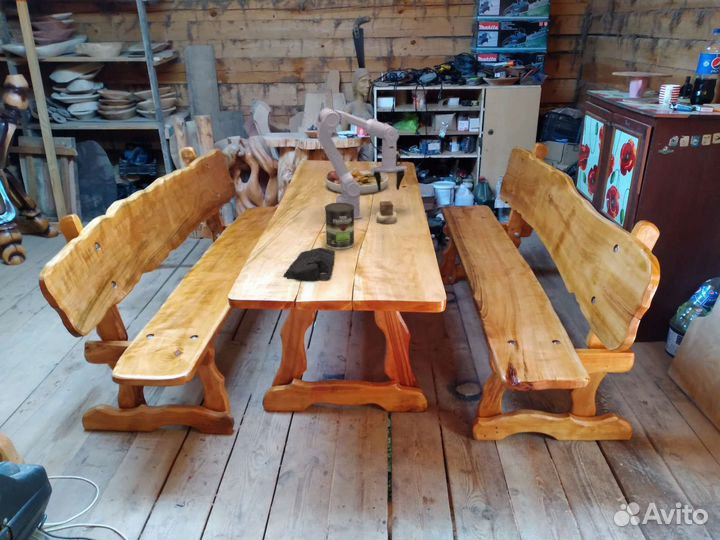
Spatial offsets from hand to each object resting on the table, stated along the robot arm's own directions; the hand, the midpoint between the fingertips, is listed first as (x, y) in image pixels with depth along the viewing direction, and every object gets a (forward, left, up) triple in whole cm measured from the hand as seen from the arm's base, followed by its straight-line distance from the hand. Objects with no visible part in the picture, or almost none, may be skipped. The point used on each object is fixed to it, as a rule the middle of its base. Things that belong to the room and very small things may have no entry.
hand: (388, 189), depth 227 cm
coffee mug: (+15, +66, -10) cm, 68 cm away
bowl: (-7, +41, -10) cm, 43 cm away
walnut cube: (-3, -11, -7) cm, 13 cm away
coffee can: (-24, -32, -10) cm, 41 cm away
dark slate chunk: (-35, -50, -11) cm, 62 cm away
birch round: (-3, -10, -10) cm, 15 cm away
